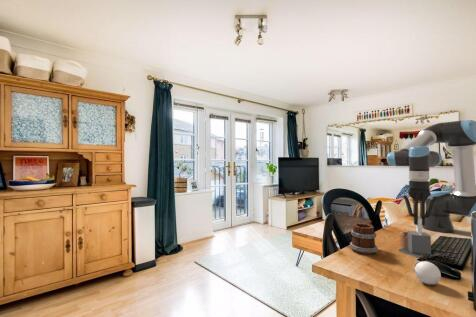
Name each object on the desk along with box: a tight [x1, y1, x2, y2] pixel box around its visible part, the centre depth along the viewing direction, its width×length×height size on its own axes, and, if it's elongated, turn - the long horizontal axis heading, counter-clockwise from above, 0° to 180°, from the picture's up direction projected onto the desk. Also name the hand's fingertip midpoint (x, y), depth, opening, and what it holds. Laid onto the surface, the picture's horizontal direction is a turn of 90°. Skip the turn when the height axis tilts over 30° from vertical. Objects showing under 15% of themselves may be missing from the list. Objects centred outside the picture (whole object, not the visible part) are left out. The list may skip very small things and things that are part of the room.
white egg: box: [413, 260, 442, 286], centre depth 85 cm, size 10×7×7 cm
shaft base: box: [398, 247, 440, 259], centre depth 113 cm, size 11×11×6 cm
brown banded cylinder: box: [349, 219, 379, 256], centre depth 117 cm, size 12×14×15 cm
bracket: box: [398, 231, 408, 248], centre depth 124 cm, size 18×8×7 cm, turn 129°
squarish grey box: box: [407, 230, 432, 255], centre depth 113 cm, size 7×7×8 cm
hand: (419, 232), depth 113 cm, fingers closed
